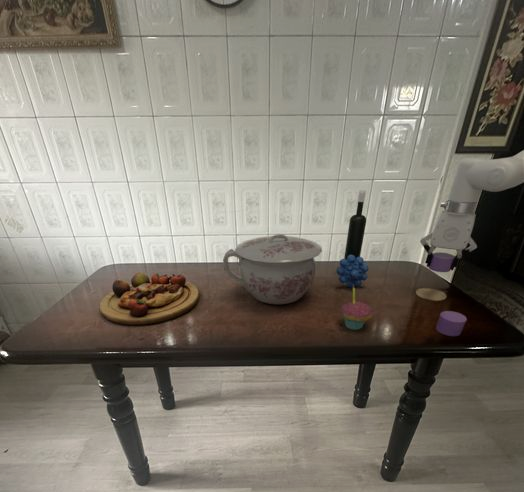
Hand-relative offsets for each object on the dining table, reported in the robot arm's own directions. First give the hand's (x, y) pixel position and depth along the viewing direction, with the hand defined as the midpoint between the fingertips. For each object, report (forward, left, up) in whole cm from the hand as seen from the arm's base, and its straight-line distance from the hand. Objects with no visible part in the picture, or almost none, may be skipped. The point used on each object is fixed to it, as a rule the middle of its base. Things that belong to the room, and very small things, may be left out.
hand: (439, 266), depth 98 cm
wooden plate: (+82, +49, -10) cm, 96 cm away
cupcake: (+18, +33, -10) cm, 39 cm away
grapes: (+26, +7, -10) cm, 29 cm away
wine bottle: (+30, -6, -10) cm, 32 cm away
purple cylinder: (0, 0, -1) cm, 1 cm away
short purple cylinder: (-6, +24, -10) cm, 26 cm away
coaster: (0, 0, -10) cm, 10 cm away
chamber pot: (+47, +25, -10) cm, 54 cm away
